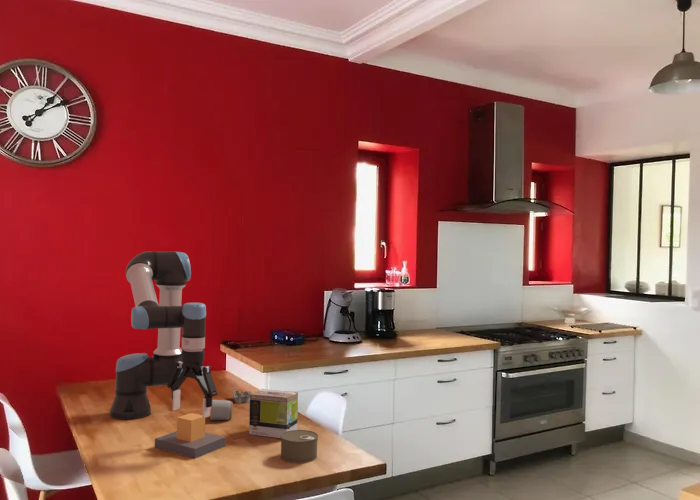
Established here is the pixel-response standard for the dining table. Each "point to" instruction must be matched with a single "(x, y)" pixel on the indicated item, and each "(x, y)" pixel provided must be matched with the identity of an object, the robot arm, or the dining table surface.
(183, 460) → the dining table surface
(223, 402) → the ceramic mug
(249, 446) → the dining table surface
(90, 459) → the dining table surface
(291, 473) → the dining table surface
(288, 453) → the can
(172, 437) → the dark gray slab
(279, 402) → the tea box
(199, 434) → the orange toy cube
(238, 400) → the egg carton
